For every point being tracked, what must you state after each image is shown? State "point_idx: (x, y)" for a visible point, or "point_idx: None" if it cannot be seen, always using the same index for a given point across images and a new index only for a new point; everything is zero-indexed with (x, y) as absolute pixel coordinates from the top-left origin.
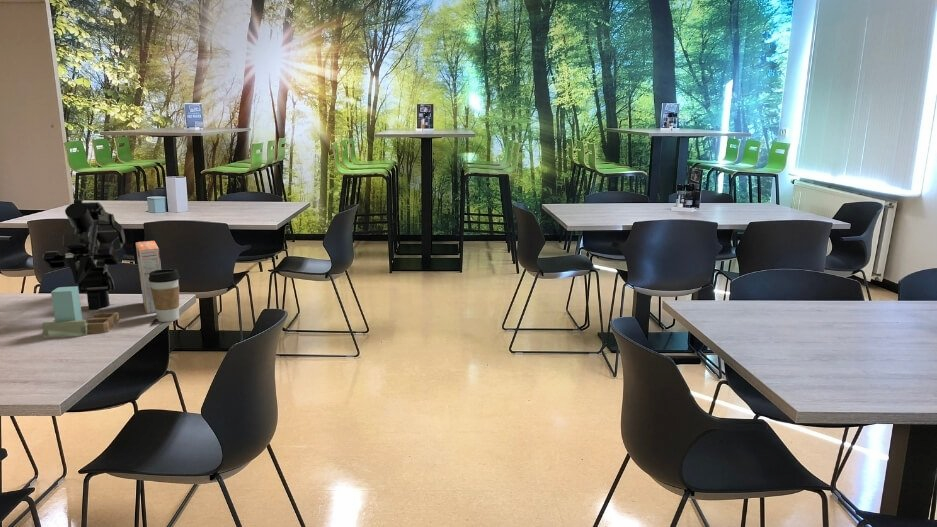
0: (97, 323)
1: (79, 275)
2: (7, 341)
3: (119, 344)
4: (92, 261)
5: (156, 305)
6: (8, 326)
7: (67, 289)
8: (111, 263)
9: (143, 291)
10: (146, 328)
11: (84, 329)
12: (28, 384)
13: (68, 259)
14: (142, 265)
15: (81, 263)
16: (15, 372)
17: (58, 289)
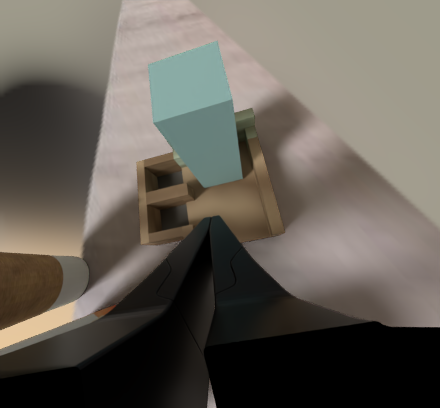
0: (155, 160)
1: (190, 236)
2: (330, 129)
3: (119, 134)
4: (11, 405)
5: (44, 259)
6: (437, 229)
7: (172, 78)
8: None
9: (49, 337)
10: (98, 214)
11: None
12: (174, 13)
13: (329, 327)
14: None
15: (136, 316)
16: (211, 32)
17: (209, 72)
